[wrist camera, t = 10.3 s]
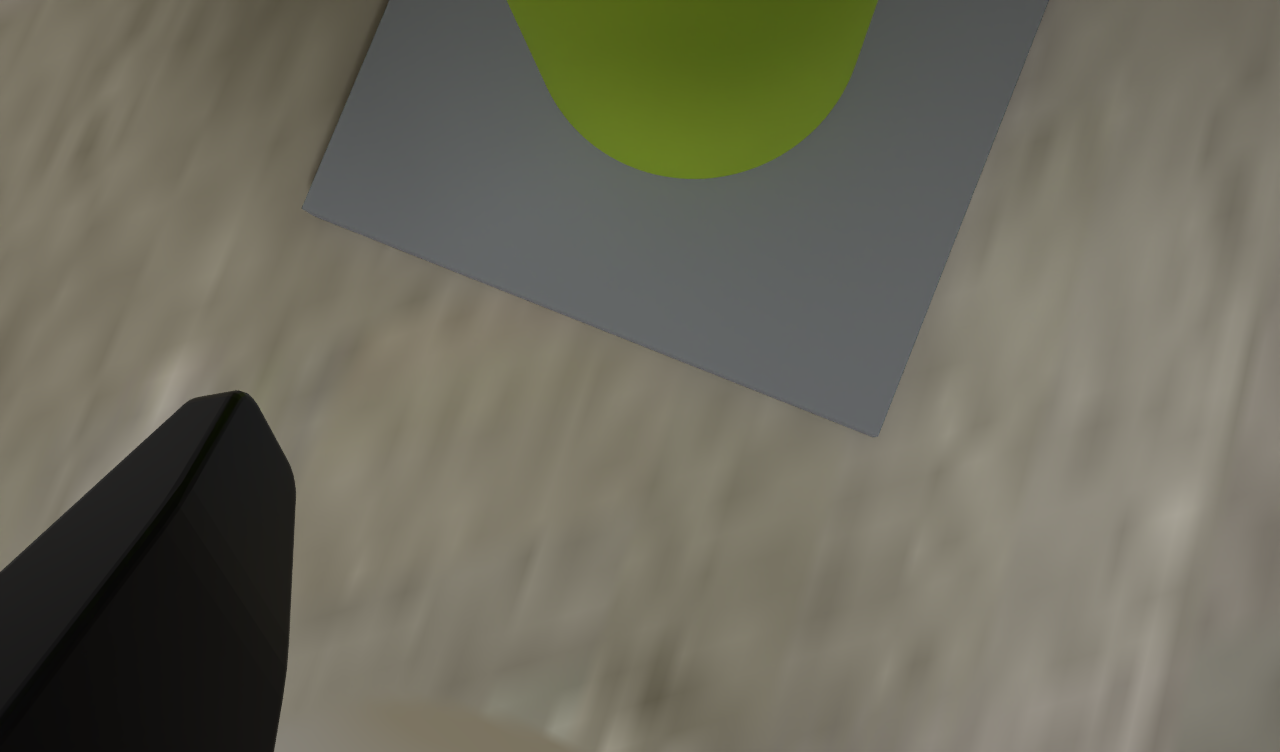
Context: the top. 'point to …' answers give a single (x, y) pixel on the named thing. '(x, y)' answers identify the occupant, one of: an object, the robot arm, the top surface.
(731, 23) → the soap dispenser
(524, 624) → the top surface
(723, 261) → the slate mat
